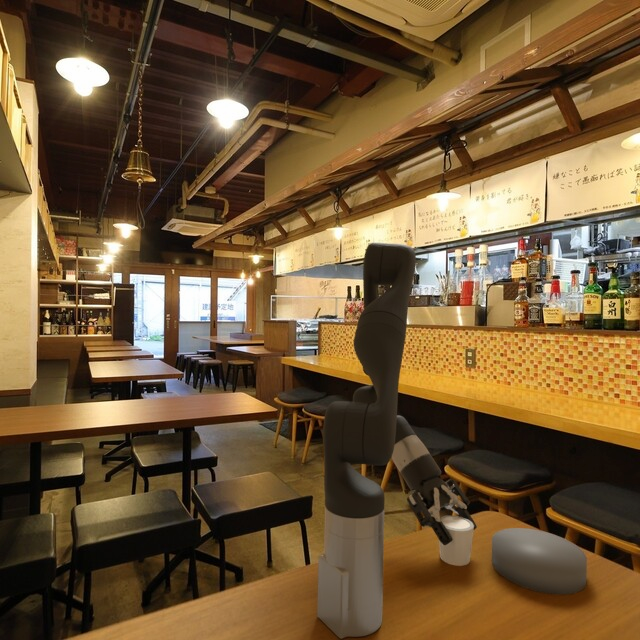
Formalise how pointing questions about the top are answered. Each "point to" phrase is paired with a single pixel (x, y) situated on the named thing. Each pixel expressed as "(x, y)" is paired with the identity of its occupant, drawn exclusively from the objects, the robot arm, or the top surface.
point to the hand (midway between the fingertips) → (461, 536)
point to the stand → (539, 561)
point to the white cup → (457, 540)
